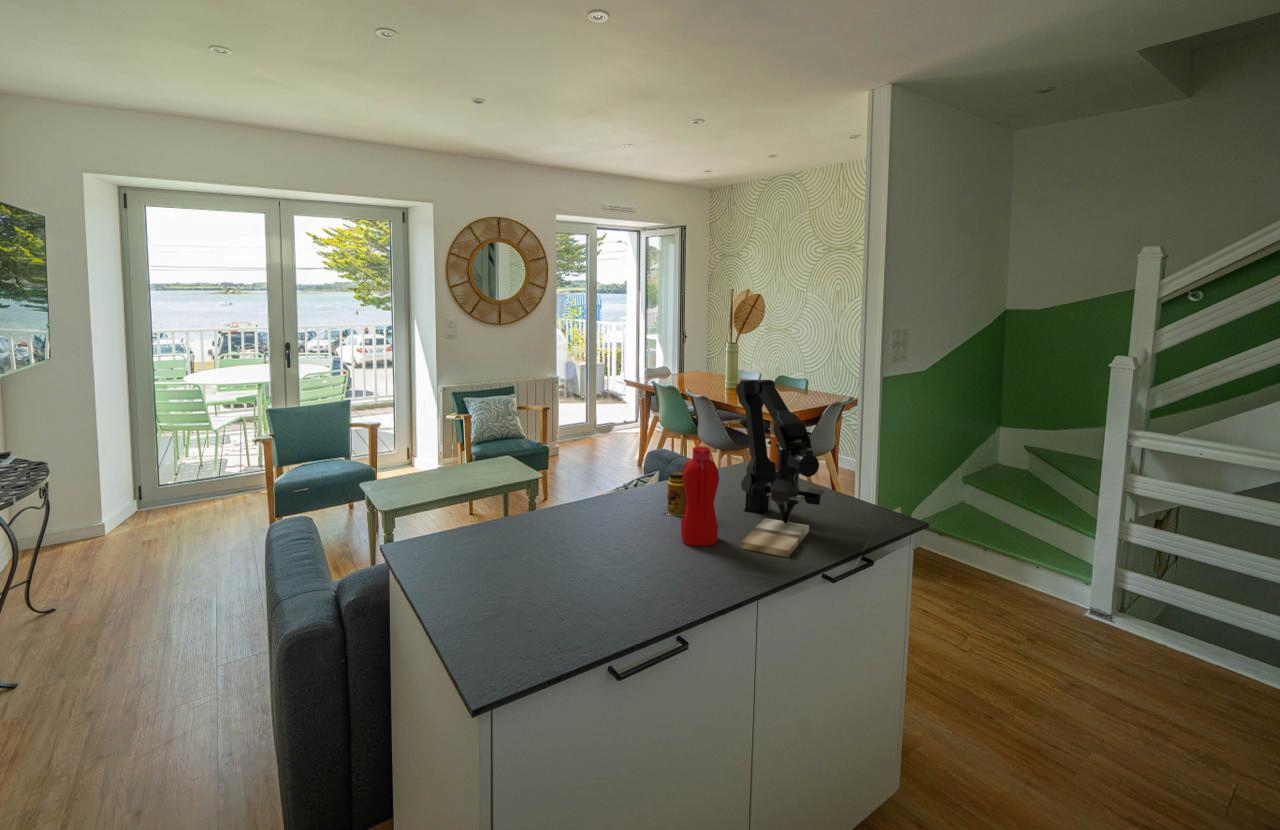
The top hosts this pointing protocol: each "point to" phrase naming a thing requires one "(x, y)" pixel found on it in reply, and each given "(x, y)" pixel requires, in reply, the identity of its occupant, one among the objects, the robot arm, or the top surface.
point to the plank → (783, 528)
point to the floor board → (770, 543)
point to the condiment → (676, 494)
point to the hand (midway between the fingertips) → (785, 522)
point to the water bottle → (700, 499)
